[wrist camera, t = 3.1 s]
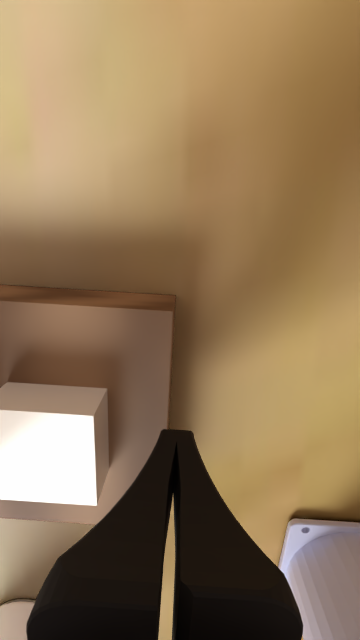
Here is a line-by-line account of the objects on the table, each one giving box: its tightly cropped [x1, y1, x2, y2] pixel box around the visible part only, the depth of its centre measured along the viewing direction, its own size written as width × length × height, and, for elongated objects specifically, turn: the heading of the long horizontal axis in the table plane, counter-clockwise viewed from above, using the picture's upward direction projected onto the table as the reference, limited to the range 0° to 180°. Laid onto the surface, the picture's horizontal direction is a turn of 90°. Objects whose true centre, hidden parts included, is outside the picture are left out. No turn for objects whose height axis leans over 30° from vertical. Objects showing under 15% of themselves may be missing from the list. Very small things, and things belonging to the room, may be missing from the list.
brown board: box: [0, 285, 176, 524], centre depth 15 cm, size 14×12×3 cm
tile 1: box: [0, 382, 109, 506], centre depth 13 cm, size 4×4×2 cm
